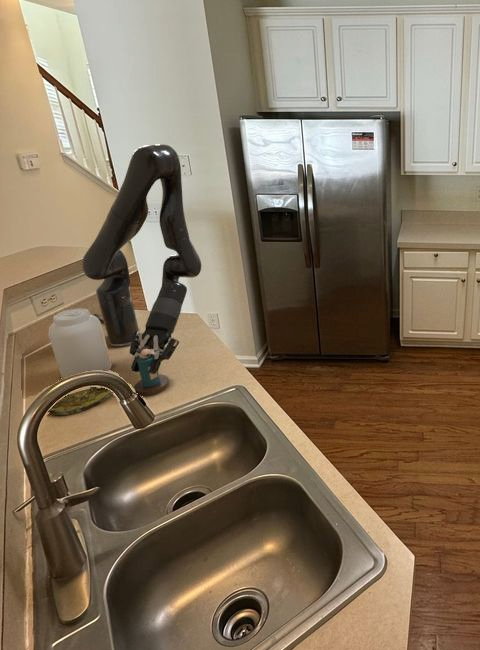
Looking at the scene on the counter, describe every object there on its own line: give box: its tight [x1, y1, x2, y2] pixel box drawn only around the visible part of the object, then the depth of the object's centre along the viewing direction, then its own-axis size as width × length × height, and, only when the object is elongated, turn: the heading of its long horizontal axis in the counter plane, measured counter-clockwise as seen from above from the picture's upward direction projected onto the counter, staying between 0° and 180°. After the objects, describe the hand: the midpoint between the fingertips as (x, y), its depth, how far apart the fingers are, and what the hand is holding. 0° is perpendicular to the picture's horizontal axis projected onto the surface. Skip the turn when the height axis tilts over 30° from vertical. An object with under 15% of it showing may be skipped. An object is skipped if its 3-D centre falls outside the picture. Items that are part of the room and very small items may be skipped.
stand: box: [133, 374, 170, 397], centre depth 124 cm, size 9×9×2 cm
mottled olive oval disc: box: [47, 386, 114, 416], centre depth 117 cm, size 9×5×15 cm
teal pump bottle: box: [136, 346, 160, 387], centre depth 122 cm, size 5×4×11 cm
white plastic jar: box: [47, 307, 112, 379], centre depth 127 cm, size 12×12×20 cm
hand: (143, 372), depth 120 cm, fingers closed on teal pump bottle, 4 cm apart
